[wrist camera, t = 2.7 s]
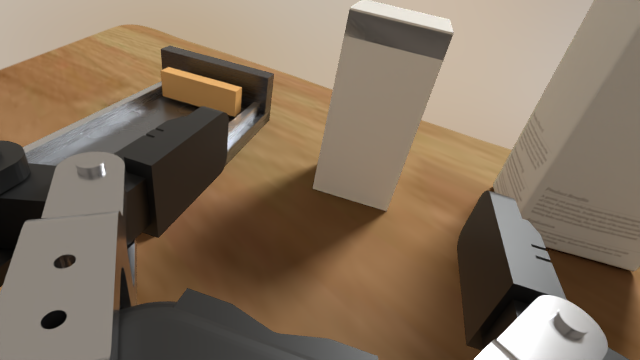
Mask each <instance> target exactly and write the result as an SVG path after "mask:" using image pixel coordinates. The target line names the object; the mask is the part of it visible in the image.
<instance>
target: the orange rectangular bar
mask: <svg viewBox="0 0 640 360" xmlns="http://www.w3.org/2000/svg"><path fill="white" fill-rule="evenodd" d="M161 81H162V93H163V96H164V97H168V98H171V99H175V100H178V101H182V102H185V103H189V104H192V105H195V106H199V107H202V106H205V107H209V108H212V109H215V110H219V111H222V112H225V113H227V115H230V116H234V117H235V116H236V115H238V114H239V113H240V112H241V96H242V87H239V86H235V85H232V84H228V83H225V82H221V81H217V80H214V79H210V78H207V77H203V76H199V75H196V74H192V73H189V72H185V71H181V70H178V69H174V68H171V67H168V68H165V69H163V70H161Z"/></svg>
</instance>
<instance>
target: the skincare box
mask: <svg viewBox="0 0 640 360" xmlns="http://www.w3.org/2000/svg"><path fill="white" fill-rule="evenodd" d="M493 188H494V192H495V193H498V194H501V195H504V196H508V197H511V198H514V199H515V201H516V203H517V206H518V209H519V212H520V214H521V217H522V219H525V220H528V221H529V222H530V223H531V224H532V226H533V227H534V228H535V229H536V230H537V231H538V232H539V234H540V235H541V237H542V240H543V242H544V245H545V247H548V248H551V249H555V250H559V251H562V252H566V253H569V254H573V255H577V256H580V257H584V258H587V259H591V260H595V261H598V262H602V263H605V264H609V265H612V266H616V267H619V268H623V269H626V270H630V271H636V270H637V269H638V268H639V267H640V0H594V2H593V3H592V5H591V7H590V9H589V11H588V13H587V14H586V17H585V18H584V20H583V22H582V24H581V26H580V27H579V29H578V31H577V33H576V35H575V36H574V38H573V40H572V42H571V44H570V46H569V47H568V49H567V51H566V53H565V55H564V57H563V58H562V60H561V62H560V64H559V65H558V67H557V69H556V71H555V73H554V75H553V76H552V78H551V80H550V82H549V84H548V85H547V87H546V89H545V91H544V93H543V95H542V97H541V98H540V100H539V102H538V104H537V105H536V107H535V109H534V111H533V113H532V114H531V116H530V118H529V120H528V122H527V124H526V126H525V127H524V129H523V131H522V133H521V135H520V136H519V138H518V140H517V142H516V144H515V146H514V147H513V149H512V151H511V153H510V155H509V156H508V158H507V160H506V162H505V164H504V166H503V168H502V170H501V171H500V173H499V175H498V176H497V178H496V180H495V182H494V183H493Z"/></svg>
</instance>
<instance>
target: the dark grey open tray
mask: <svg viewBox="0 0 640 360" xmlns="http://www.w3.org/2000/svg"><path fill="white" fill-rule="evenodd" d="M161 57H162V70H163V69H165V68H168V67H171V68H174V69H178V70H181V71H185V72H189V73H192V74H196V75H199V76H203V77H207V78H210V79H214V80H217V81H221V82H225V83H228V84H232V85H235V86H239V87H242V96H241V112H240V113H239V114H238V115H236V116H235V117H234V116H230V115H228V118H229V126H228V148H227V160H226V164H227V163H228V162H229V161H230V160H231V159H232V158H233V157H234V156H235V155H236V154H237V153H238V152H239V151H240V150H241V149H242V148H243V147H244V146H245V145H246V143H247V142H248V141H249V140H250V139H251V138H252V137H253V136H254V135H255V134H256V133H257V132H258V131H259V130H260V129H261V128H262V127H263V126H264V125H265V124H266V123H267V122H268V121H269V117H270V108H271V98H272V89H273V79H274V74H273V73H269V72H265V71H261V70H258V69H254V68H250V67H247V66H243V65H239V64H236V63H232V62H228V61H224V60H221V59H217V58H213V57H210V56H206V55H202V54H199V53H195V52H191V51H187V50H184V49H180V48H176V47H173V46H168V47H165V48H162V49H161ZM198 108H200V107H199V106H195V105H192V104H189V103H185V102H182V101H178V100H175V99H171V98H168V97H164V96H163V93H162V81H161V82H159V83H157V84H155V85H153V86H150V87H148V88H146V89H144V90H142V91H140V92H138V93H136V94H134V95H132V96H129V97H127V98H125V99H123V100H121V101H119V102H117V103H115V104H113V105H111V106H109V107H106V108H104V109H102V110H100V111H98V112H96V113H94V114H92V115H90V116H88V117H86V118H83V119H81V120H79V121H77V122H75V123H73V124H71V125H69V126H67V127H65V128H62V129H60V130H58V131H56V132H54V133H52V134H50V135H48V136H46V137H44V138H42V139H39V140H37V141H35V142H33V143H31V144H29V145H27V146H25V147H23V149H24V152H25V155H26V158H27V161H28V163H34V164H44V165H54V166H57V165H58V164H59V163H60V162H61V161H63V160H64V159H66V158H68V157H70V156H73V155H76V154H80V153H86V152H106V153H111V154H114V153H116V152H117V151H119V150H120V149H122V148H124V147H125V146H127V145H129V144H130V143H132V142H133V141H135V140H137V139H138V138H140V137H141V136H143V135H145V136H146V133H148V132H150V131H151V130H153V129H156V127H158V126H159V125H161V124H162V123H164V122H166V121H167V120H171V119H175V118H178V117H182V116H185V117H186V116H187V115H189V114H191V113H192V112H194V111H195V110H197V109H198ZM226 164H225V165H226Z"/></svg>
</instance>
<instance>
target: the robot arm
mask: <svg viewBox="0 0 640 360" xmlns="http://www.w3.org/2000/svg"><path fill="white" fill-rule="evenodd" d="M228 126H229V118H228V115H227V113H225V112H222V111H219V110H215V109H212V108H209V107H205V106H202V107H200V108H198V109H197V110H195V111H194V112H192V113H191V114H189V115H187V116H186V117H185V116H182V117H178V118H175V119H171V120H167V121H166V122H164V123H162V124H161V125H159V126H158V127H156V129H153V130H151V131H150V132H148V133H146V136H145V135H143V136H141V137H140V138H138V139H137V140H135V141H133V142H132V143H130V144H129V145H127V146H125V147H124V148H122V149H120V150H119V151H117V152H116V153H114V154H111V153H106V152H86V153H80V154H76V155H73V156H70V157H68V158H66V159H64V160H63V161H61V162H60V163H59V164H58V165H57V166H54V165H44V164H34V163H28V161H27V158H26V155H25V152H24V149H23V148H22V147H21V146H20V145H18V144H16V143H13V142H9V141H0V287H1V286H2V285H3V287H2V290H1V293H0V360H378V356H376V355H373V354H370V353H367V352H365V351H362V350H359V349H356V348H353V347H351V346H348V345H345V344H342V343H339V342H337V341H334V340H331V339H326V338H316V337H307V336H297V335H288V334H279V333H275V332H273V331H271V330H269V329H268V328H267V327H265V326H264V325H262V324H261V323H259V322H258V321H256V320H255V319H253V318H252V317H250V316H249V315H247V314H246V313H244V312H243V311H242V310H240V309H239V308H237V307H236V306H234V305H233V304H230V303H228V302H225V301H222V300H219V299H216V298H214V297H211V296H208V295H205V294H202V293H200V292H197V291H194V290H191V289H188V288H187V289H186V291H185V292H184V293H183V295H182V296H181V298H180V299H179V300H178V302H152V303H145V304H140V305H137V245H136V238H137V237H138V236H139V235H140V234H141V233H142V232H143V233H146V234H149V235H152V236H155V237H158V238H159V237H160V236H161V235H162V234H163V233H164V232H165V231H166V229H167V228H168V227H169V226H170V225H171V224H172V223H173V222H174V221H175V220H176V219H177V218H178V217H179V216H180V215H181V214H182V213H183V212H184V211H185V210H186V209H187V208H188V207H189V206H190V205H191V204H192V203H193V202H194V201H195V200H196V198H197V197H198V196H199V195H200V194H201V193H202V192H203V191H204V190H205V189H206V188H207V187H208V186H209V185H210V184H211V183H212V182H213V181H214V180H215V179H216V178H217V177H218V176H219V175H220V174H221V172H222V171H223V169H224V166H225V164H226V160H227V148H228ZM545 249H546V247H545V245H544V242H543V240H542V237H541V235H540V234H539V232H538V231H537V230H536V229H535V228H534V227H533V226H532V224H531V223H530V222H529V221H528V220H525V219H522V217H521V214H520V212H519V209H518V206H517V203H516V201H515V199H514V198H511V197H508V196H504V195H501V194H498V193H494V192H491V191H485V192H484V193H483V194H482V195H481V197H480V198H479V200H478V202H477V204H476V206H475V207H474V209H473V211H472V213H471V215H470V216H469V218H468V220H467V222H466V223H465V225H464V227H463V229H462V231H461V233H460V236H459V239H458V245H457V253H458V263H459V274H460V284H461V294H462V304H463V315H464V325H465V335H466V345H467V346H470V347H473V348H476V349H479V350H482V352H481V353H480V354H479V355H478V356H477V357H476V358H475V359H474V360H629V359H627V358H626V357H624V356H622V355H620V354H619V353H617V352H615V351H613V350H612V349H610V348H608V343H607V339H606V337H605V334H604V333H603V331H602V329H601V328H600V327H599V325H598V324H597V323H596V322H595V321H594V320H593V319H592V318H591V317H590V316H589V315H588V314H587V313H586V312H585V311H583V310H582V309H581V308H579V307H578V306H576V305H575V304H573V303H571V302H569V301H567V299H566V297H565V294H564V292H563V289H562V287H561V284H560V282H559V279H558V277H557V275H556V272H555V270H554V267H553V265H552V263H550V257H549V255H548V252H547V251H545Z"/></svg>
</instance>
